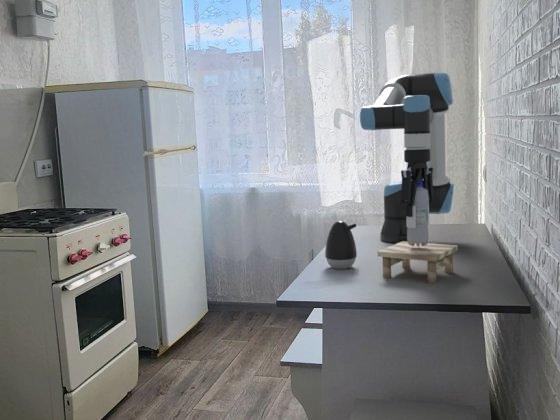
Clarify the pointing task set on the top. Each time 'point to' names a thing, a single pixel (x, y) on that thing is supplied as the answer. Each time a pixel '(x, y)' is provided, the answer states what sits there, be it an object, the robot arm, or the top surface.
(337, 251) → the pump dispenser
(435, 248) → the footstool
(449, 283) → the top surface
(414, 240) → the bottle
